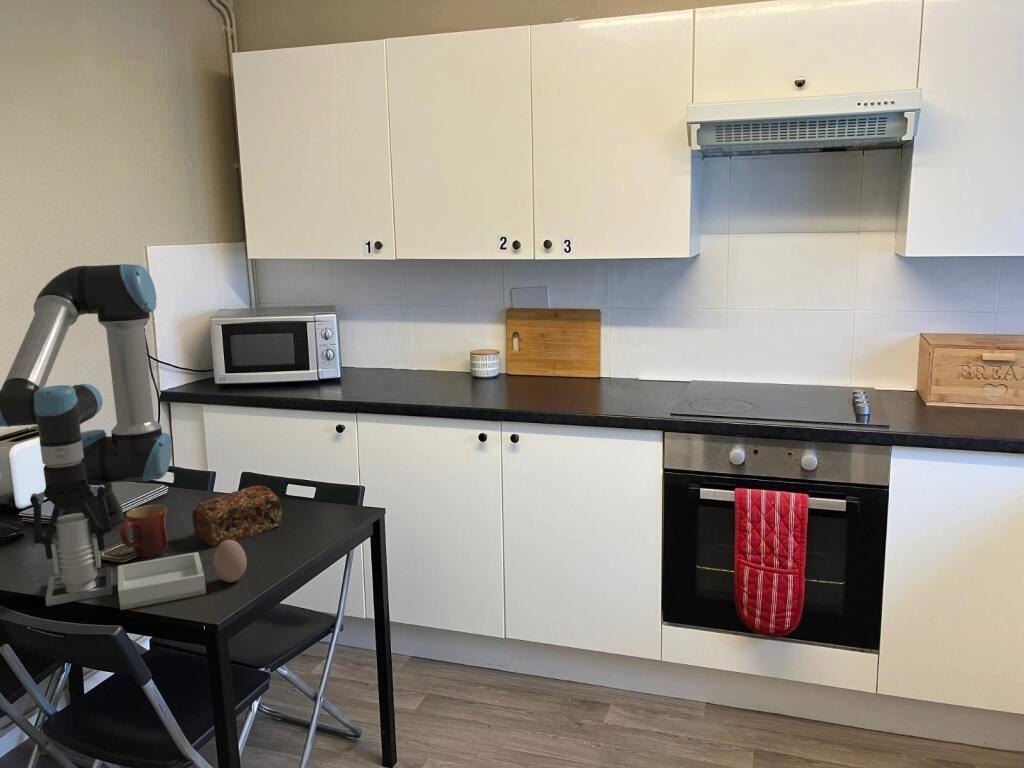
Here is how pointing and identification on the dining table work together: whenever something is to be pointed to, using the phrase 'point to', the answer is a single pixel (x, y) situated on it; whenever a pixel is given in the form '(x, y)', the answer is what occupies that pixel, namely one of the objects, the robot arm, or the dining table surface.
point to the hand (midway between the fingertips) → (78, 568)
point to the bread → (237, 515)
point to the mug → (146, 530)
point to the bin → (160, 580)
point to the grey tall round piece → (75, 552)
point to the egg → (229, 561)
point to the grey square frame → (81, 594)
